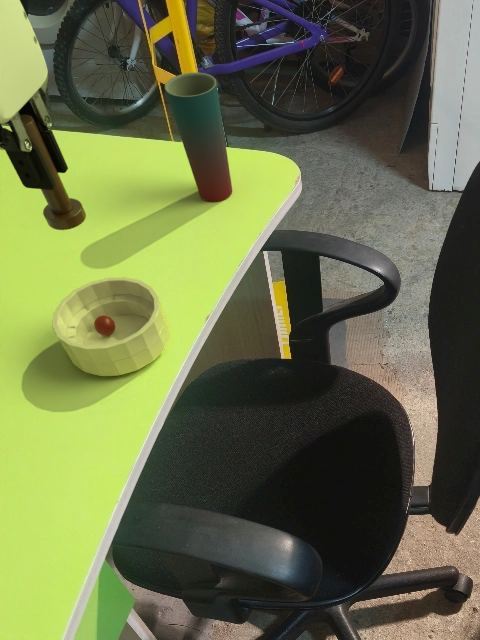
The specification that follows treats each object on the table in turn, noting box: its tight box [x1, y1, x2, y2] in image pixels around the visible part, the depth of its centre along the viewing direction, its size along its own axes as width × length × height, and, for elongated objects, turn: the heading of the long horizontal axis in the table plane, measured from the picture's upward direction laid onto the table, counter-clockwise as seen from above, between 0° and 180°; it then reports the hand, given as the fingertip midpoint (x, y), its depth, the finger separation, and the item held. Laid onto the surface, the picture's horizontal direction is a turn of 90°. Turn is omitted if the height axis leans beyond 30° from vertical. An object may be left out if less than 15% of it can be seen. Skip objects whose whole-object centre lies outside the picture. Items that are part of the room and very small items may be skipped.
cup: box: [164, 71, 233, 203], centre depth 83 cm, size 7×7×15 cm
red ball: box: [94, 315, 115, 336], centre depth 71 cm, size 2×2×2 cm
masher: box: [19, 115, 87, 231], centre depth 58 cm, size 4×4×10 cm
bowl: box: [51, 276, 171, 377], centre depth 70 cm, size 12×12×5 cm
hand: (46, 177), depth 59 cm, fingers closed on masher, 2 cm apart
